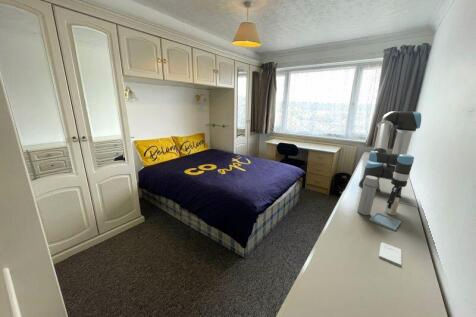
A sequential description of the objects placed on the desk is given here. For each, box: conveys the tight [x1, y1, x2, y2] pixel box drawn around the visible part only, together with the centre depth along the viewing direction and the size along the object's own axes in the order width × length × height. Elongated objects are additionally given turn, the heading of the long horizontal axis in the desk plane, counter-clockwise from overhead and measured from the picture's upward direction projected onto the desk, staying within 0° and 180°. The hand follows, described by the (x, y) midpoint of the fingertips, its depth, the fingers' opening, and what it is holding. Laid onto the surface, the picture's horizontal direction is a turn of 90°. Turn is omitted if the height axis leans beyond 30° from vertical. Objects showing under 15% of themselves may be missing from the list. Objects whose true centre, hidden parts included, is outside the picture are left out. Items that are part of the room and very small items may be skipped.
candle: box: [384, 199, 399, 216], centre depth 126 cm, size 6×6×10 cm
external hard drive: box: [378, 241, 403, 268], centre depth 92 cm, size 2×8×12 cm
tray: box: [368, 211, 402, 232], centre depth 117 cm, size 13×13×1 cm
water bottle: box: [357, 176, 378, 216], centre depth 122 cm, size 9×8×25 cm
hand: (391, 209), depth 126 cm, fingers open, 13 cm apart
